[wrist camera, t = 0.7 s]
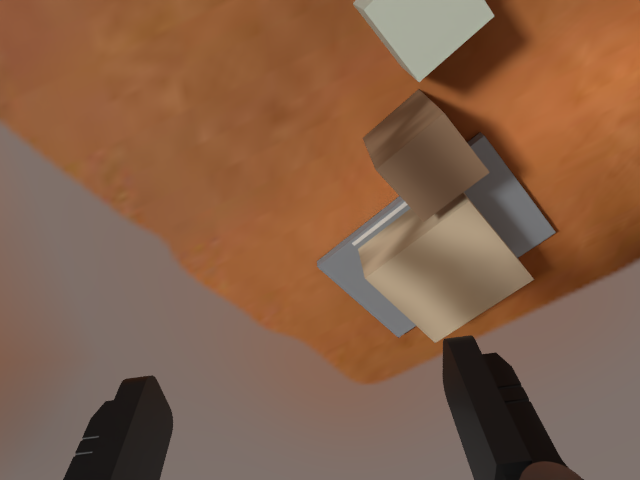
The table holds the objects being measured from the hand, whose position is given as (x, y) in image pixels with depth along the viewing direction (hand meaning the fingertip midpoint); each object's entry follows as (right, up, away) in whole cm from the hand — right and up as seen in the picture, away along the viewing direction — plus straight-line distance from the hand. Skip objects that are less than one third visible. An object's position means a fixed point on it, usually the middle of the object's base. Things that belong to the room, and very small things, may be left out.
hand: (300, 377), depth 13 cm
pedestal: (+10, +3, +24) cm, 26 cm away
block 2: (+7, +11, +20) cm, 24 cm away
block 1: (+6, +18, +16) cm, 25 cm away
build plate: (+10, +3, +25) cm, 27 cm away
